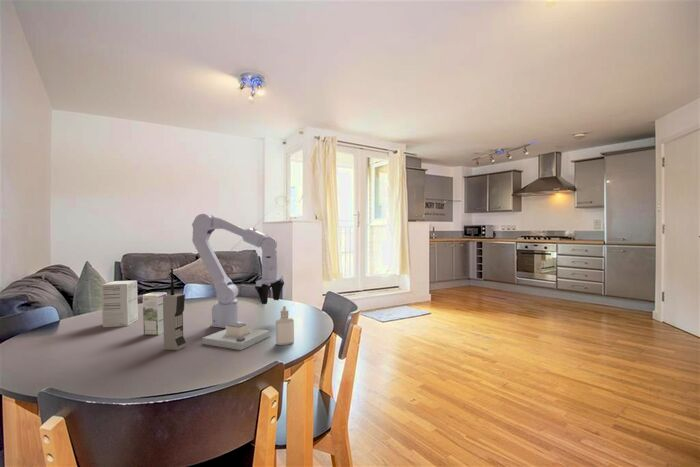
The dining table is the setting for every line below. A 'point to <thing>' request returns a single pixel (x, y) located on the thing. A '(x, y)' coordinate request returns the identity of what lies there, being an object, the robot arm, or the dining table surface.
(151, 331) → the syrup box
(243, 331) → the plug block
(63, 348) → the dining table surface
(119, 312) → the supplement box
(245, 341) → the socket plate
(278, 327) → the eye dropper bottle
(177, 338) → the vintage mobile phone
